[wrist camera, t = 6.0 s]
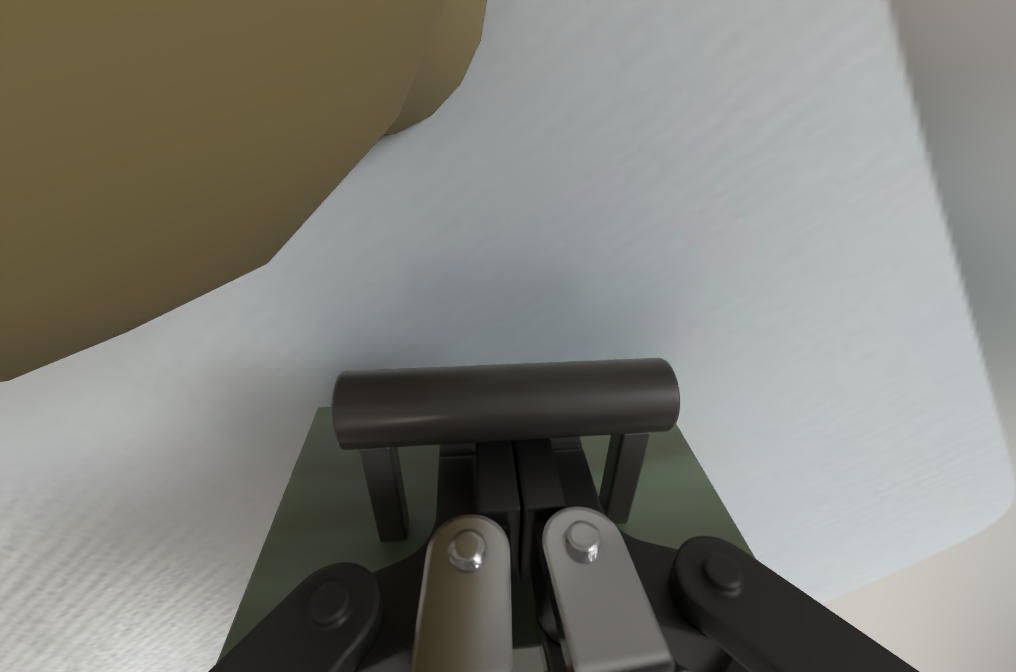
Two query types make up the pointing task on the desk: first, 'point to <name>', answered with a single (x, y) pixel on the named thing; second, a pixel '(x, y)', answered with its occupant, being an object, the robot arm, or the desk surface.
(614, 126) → the desk surface
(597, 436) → the drawer
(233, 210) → the olive peg doll
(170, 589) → the desk surface
